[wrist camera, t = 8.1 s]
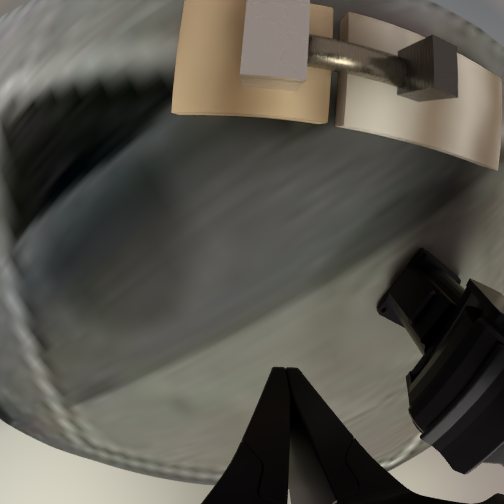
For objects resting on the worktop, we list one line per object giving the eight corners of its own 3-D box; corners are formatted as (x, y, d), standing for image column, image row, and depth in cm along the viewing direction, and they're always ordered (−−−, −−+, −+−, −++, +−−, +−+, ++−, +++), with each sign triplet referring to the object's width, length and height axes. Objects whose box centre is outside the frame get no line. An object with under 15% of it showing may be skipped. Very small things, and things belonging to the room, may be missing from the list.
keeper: (300, 21, 12) (310, -2, 9) (295, 91, 14) (306, 80, 11) (248, 16, 12) (248, -9, 9) (242, 87, 14) (239, 74, 11)
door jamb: (486, 80, 14) (501, 79, 12) (482, 166, 17) (497, 170, 15) (191, 10, 14) (185, -2, 12) (179, 114, 17) (171, 112, 15)
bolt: (415, 62, 13) (459, 48, 8) (414, 103, 14) (460, 99, 9) (259, 28, 13) (261, -9, 8) (255, 72, 14) (256, 47, 9)
